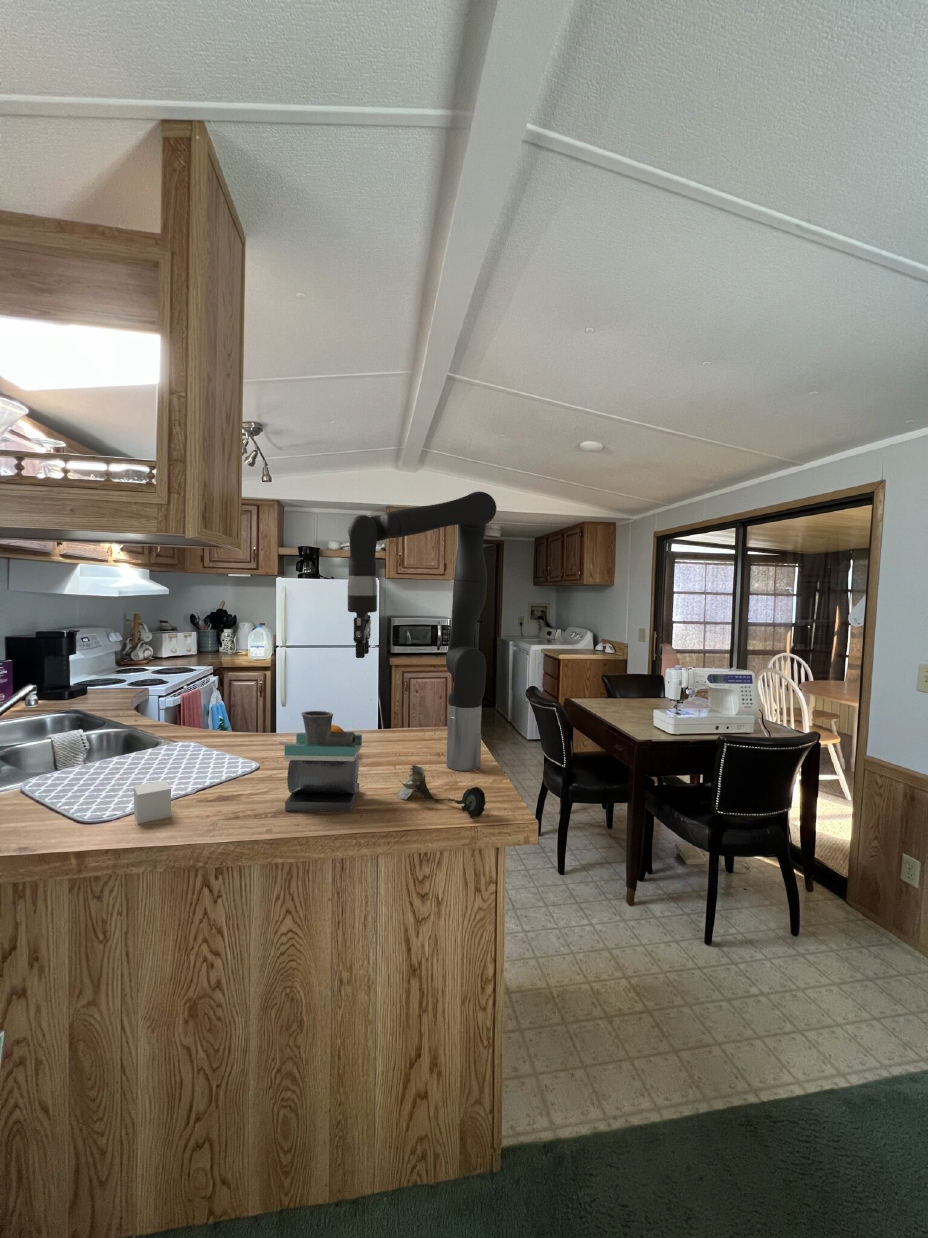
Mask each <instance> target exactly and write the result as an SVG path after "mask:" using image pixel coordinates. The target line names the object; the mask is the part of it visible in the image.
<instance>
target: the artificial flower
mask: <svg viewBox="0 0 928 1238" xmlns="http://www.w3.org/2000/svg"><path fill="white" fill-rule="evenodd" d="M409 771H410V774H409V775H408V779H407V780H406V781H405V783H404V782H402V781H401V780H399V783H401V785H402V786H403V787H402V789H401V790H399V792H397V794H396V795H395V797H396V798H399V799H400V800H401V799H402V800H408V798H409V797H410V796H412V795H411V794H412V793H417V794H419V795H420V796H421V797H422V798H427V799H429V800H433V801H436V802H437V801H438V802H440V801H441V802H443V801H445V802H447V801H448V802H454V803H456V804H457V805H461V811H462V812H466V813H467V814H468V817H469V819H471V820H474V818H476V817H478V818H479V817H480V816H481V815H482V814H483V813H484V811H485V806H486V804H487V803H486V796H485V792H484V791H483V789H482V788H480V787H478V786H477V787H476V786H475V787H471V788H467V789H466V790H465V792H463V794H462V799H461V800H458V799H455V798H435V797H433V796H432V794H431V792H430V790H429V788H428V786H427V782H426V774H425V768H424V767H422V766H419V765H416V764H412V765H411V766H410V767H409Z"/></svg>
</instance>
